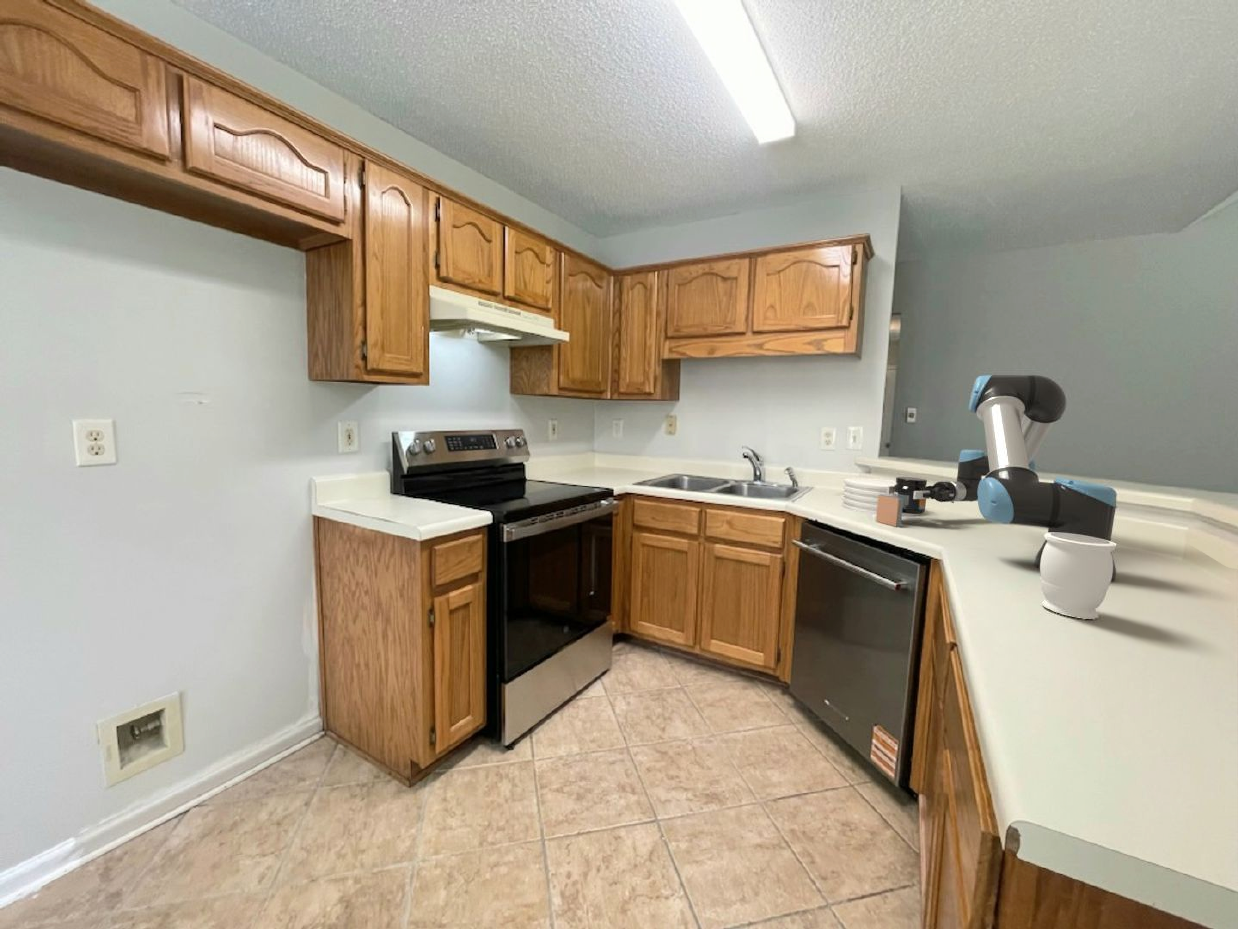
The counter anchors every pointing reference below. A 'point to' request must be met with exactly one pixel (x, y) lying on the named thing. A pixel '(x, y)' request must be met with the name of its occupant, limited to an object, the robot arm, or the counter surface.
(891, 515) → the tile
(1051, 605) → the jar
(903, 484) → the supplement container
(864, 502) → the plate stack
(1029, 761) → the counter surface
